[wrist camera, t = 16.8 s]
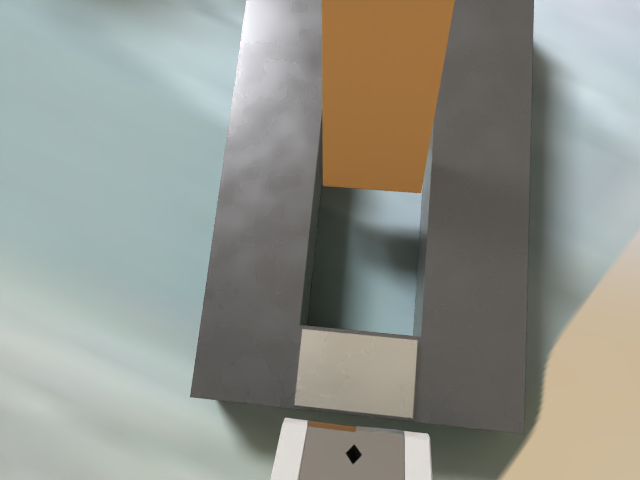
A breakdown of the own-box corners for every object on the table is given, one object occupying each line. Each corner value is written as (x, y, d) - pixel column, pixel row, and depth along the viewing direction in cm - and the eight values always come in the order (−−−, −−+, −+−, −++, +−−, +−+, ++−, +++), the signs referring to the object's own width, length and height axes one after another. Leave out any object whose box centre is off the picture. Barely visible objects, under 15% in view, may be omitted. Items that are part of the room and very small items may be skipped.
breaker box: (501, 423, 29) (526, 435, 25) (211, 391, 31) (187, 397, 26) (514, 23, 34) (536, -24, 30) (262, 11, 36) (249, -36, 31)
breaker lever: (427, 197, 27) (477, -69, 18) (316, 189, 28) (311, -75, 19) (426, 164, 29) (472, -96, 20) (322, 156, 30) (320, -100, 20)
